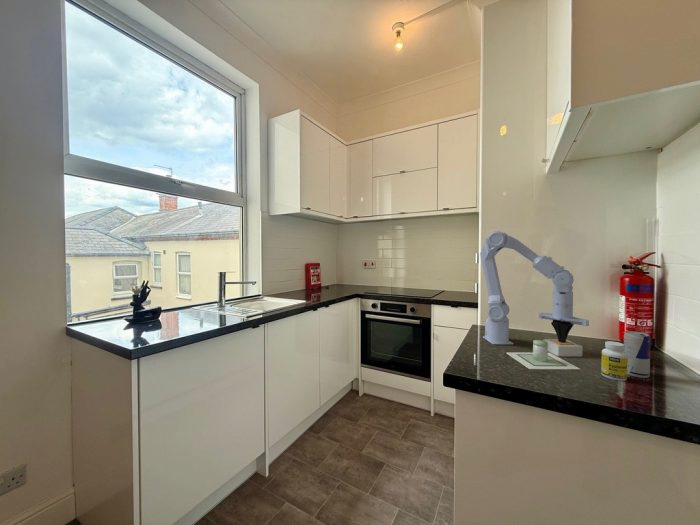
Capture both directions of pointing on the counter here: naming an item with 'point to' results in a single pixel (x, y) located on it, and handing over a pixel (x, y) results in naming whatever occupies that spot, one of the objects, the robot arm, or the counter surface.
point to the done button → (562, 343)
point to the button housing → (564, 348)
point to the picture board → (551, 364)
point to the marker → (540, 350)
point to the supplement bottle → (614, 361)
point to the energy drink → (637, 353)
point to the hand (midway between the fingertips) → (562, 342)
